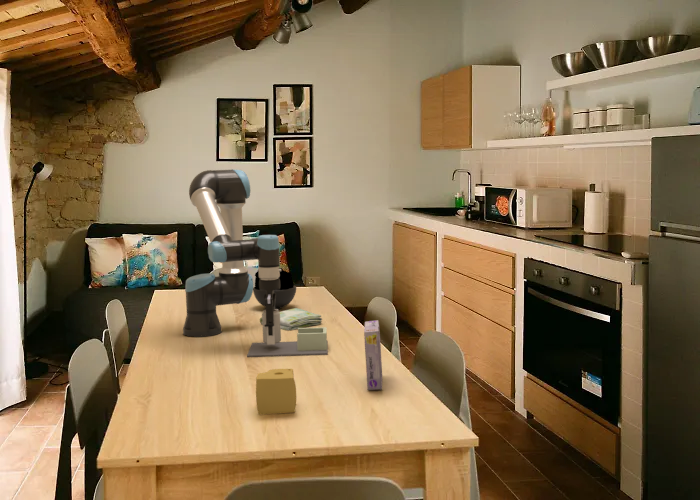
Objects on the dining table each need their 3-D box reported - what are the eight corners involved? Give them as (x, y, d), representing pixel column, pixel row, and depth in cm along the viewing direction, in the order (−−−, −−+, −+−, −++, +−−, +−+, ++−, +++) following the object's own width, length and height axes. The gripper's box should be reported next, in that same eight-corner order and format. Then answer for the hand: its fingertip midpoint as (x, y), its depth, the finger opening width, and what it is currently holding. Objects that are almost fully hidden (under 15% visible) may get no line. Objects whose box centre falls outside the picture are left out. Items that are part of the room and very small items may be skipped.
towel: (289, 332, 319) (288, 319, 319) (259, 324, 336) (258, 312, 335) (324, 325, 331) (324, 313, 331) (293, 318, 347) (293, 306, 347)
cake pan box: (366, 374, 251) (364, 319, 250) (382, 374, 251) (381, 318, 249) (365, 391, 232) (364, 331, 230) (382, 391, 232) (381, 331, 230)
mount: (252, 344, 297) (251, 326, 297) (327, 342, 298) (327, 324, 297) (247, 357, 277) (246, 338, 277) (327, 354, 278) (327, 336, 277)
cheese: (257, 404, 223) (256, 369, 222) (296, 402, 224) (295, 367, 223) (256, 415, 213) (255, 379, 211) (297, 413, 213) (295, 377, 212)
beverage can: (278, 344, 284) (277, 311, 282) (260, 344, 285) (259, 311, 284) (283, 340, 290) (281, 308, 289) (266, 340, 291) (264, 308, 290)
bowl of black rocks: (305, 306, 373) (304, 266, 371) (279, 314, 356) (278, 272, 354) (271, 303, 384) (270, 264, 382) (244, 310, 367) (243, 270, 365)
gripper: (278, 282, 275) (280, 347, 278) (281, 274, 294) (283, 335, 297) (256, 282, 275) (259, 348, 278) (261, 274, 294) (263, 336, 297)
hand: (271, 341), depth 287 cm, fingers closed on beverage can, 6 cm apart
